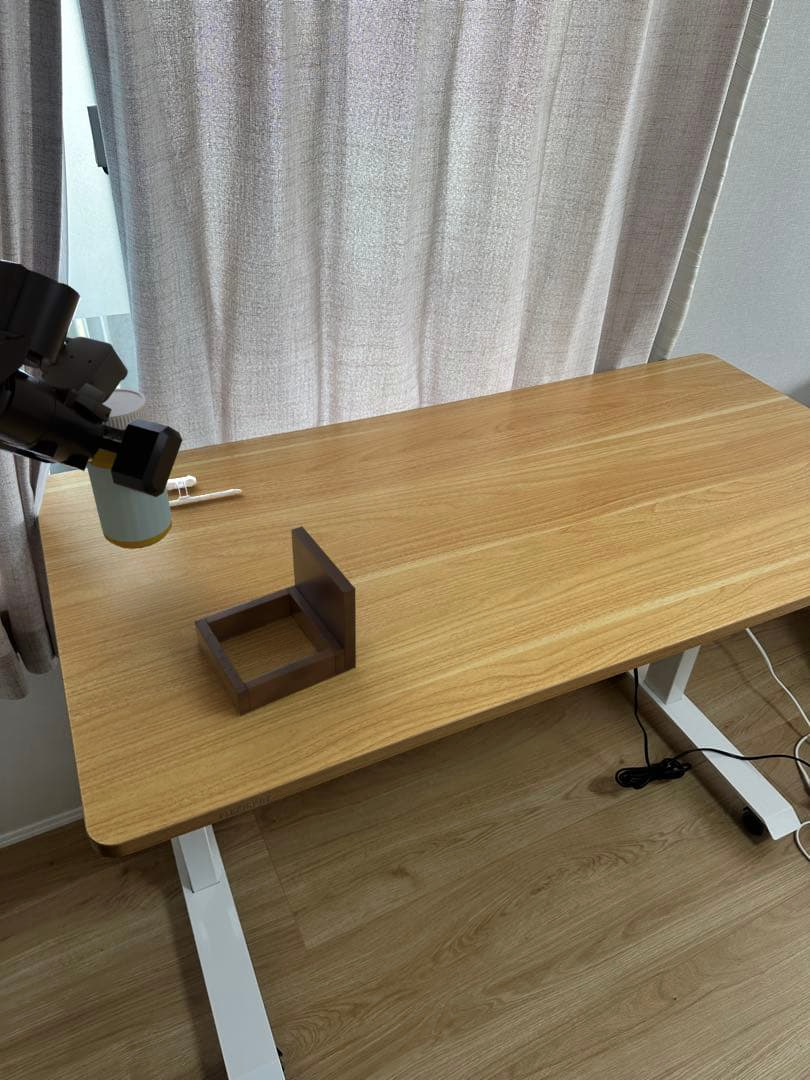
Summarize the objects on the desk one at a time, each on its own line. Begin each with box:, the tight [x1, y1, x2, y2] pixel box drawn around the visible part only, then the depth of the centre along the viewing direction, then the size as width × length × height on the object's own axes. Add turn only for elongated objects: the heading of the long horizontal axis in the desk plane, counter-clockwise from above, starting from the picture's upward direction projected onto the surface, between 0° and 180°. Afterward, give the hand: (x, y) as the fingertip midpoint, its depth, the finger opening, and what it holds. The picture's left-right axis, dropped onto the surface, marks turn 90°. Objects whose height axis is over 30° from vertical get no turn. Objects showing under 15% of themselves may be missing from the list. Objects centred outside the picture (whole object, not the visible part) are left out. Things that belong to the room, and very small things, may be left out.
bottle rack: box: [193, 525, 357, 717], centre depth 75 cm, size 12×11×10 cm
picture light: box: [166, 475, 243, 508], centre depth 98 cm, size 14×4×2 cm, turn 112°
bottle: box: [86, 387, 173, 550], centre depth 80 cm, size 7×7×15 cm
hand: (134, 463), depth 81 cm, fingers closed on bottle, 7 cm apart
